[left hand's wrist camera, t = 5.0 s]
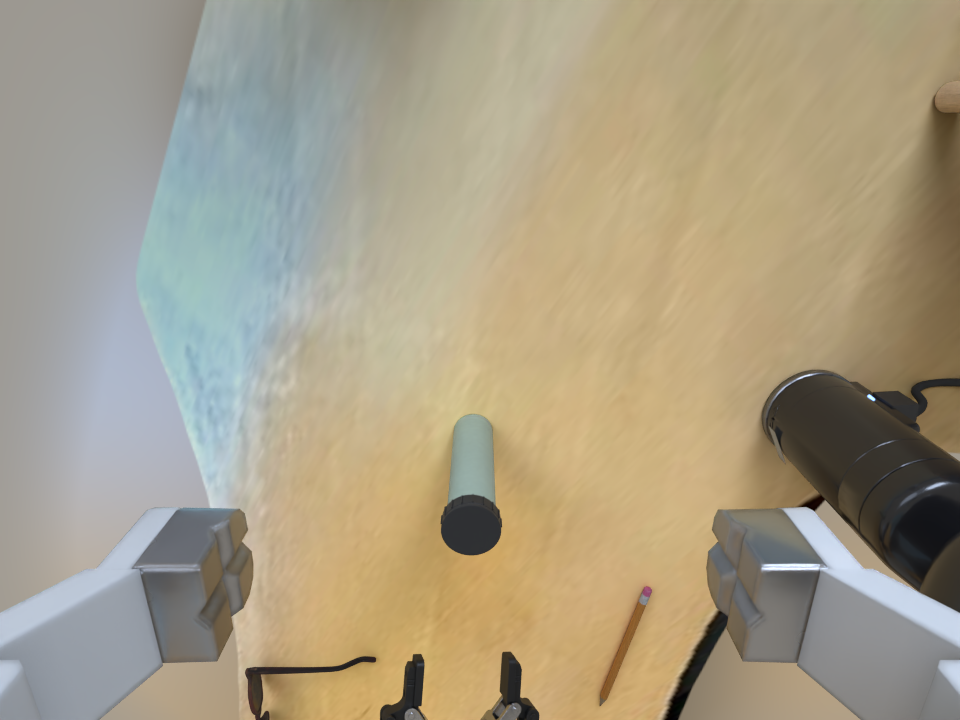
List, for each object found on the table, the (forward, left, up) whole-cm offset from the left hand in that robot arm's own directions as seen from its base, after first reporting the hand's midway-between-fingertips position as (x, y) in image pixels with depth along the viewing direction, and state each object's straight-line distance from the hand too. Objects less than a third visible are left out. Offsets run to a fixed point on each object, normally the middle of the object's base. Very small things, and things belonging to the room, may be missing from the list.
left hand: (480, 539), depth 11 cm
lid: (+23, -1, -32) cm, 39 cm away
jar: (+23, -1, -48) cm, 53 cm away
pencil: (+52, +17, -48) cm, 73 cm away
